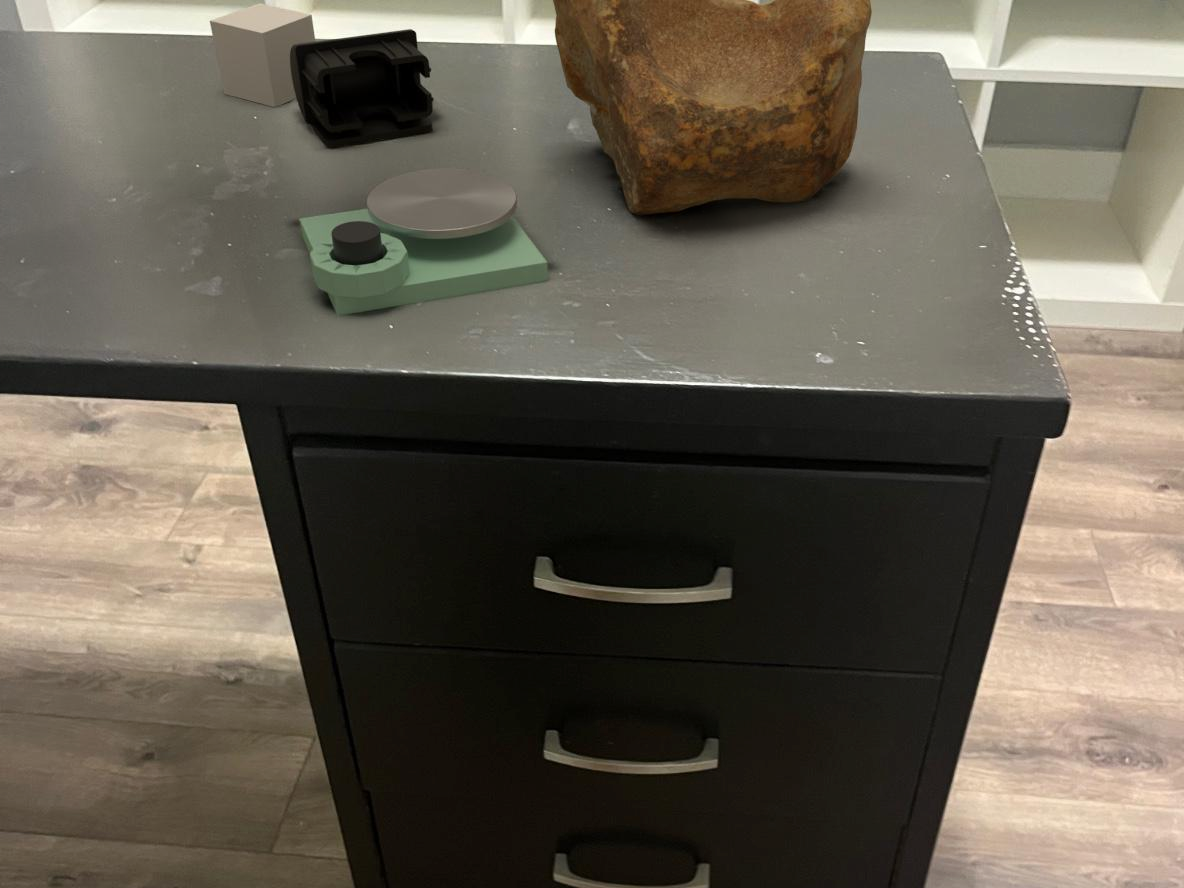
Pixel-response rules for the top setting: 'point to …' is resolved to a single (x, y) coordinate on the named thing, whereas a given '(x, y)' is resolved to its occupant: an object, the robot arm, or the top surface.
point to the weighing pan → (442, 203)
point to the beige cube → (259, 51)
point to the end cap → (362, 87)
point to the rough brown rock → (717, 93)
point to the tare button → (357, 243)
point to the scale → (420, 264)
